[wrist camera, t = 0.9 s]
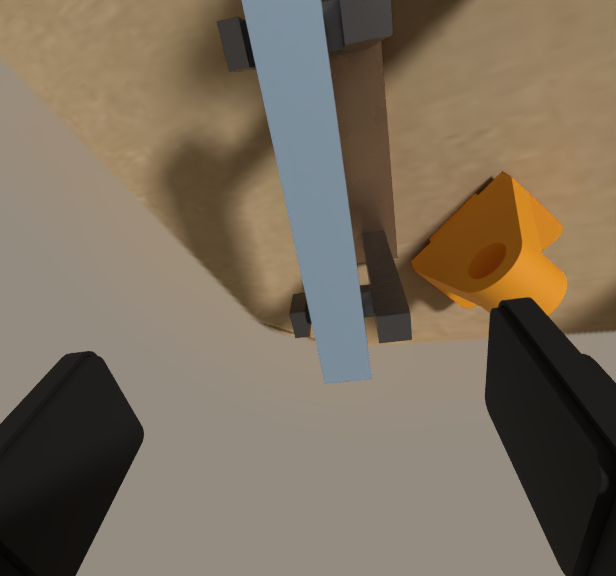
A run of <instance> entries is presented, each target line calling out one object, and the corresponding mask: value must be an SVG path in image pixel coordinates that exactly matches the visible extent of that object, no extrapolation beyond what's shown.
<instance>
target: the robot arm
mask: <svg viewBox="0 0 616 576" xmlns="http://www.w3.org/2000/svg"><path fill="white" fill-rule="evenodd" d="M485 401H486V406H487V409H488V412H489V415H490V417H491V419H492V421H493V423H494V426H495V428H496V430H497V432H498V434H499V436H500V438H501V441H502V443H503V445H504V447H505V449H506V451H507V454H508V456H509V458H510V460H511V462H512V464H513V467H514V469H515V471H516V473H517V475H518V477H519V480H520V482H521V484H522V486H523V488H524V490H525V492H526V495H527V497H528V499H529V501H530V503H531V505H532V508H533V510H534V512H535V514H536V516H537V518H538V521H539V523H540V525H541V527H542V529H543V531H544V533H545V536H546V538H547V540H548V542H549V544H550V547H551V549H552V551H553V553H554V555H555V557H556V560H557V562H558V564H559V566H560V567H561V570H562V571H563V573H564V574H565V575H566V576H616V383H615V382H614V381H613V380H612V378H611V377H610V376H609V375H608V374H607V373H606V372H605V371H604V370H603V369H602V367H601V366H600V365H599V364H598V363H597V362H596V361H595V360H594V359H593V358H591V357H590V356H588V355H585V354H581V353H580V352H579V351H578V350H577V348H576V347H575V346H574V345H573V344H572V343H571V342H570V340H568V338H567V337H566V336H565V335H564V334H563V333H562V331H561V330H560V329H559V328H558V327H557V326H556V325H555V323H554V322H553V321H552V320H551V319H550V318H549V317H548V316H547V314H546V313H545V312H544V311H543V310H542V309H541V308H540V306H539V305H538V304H537V303H536V302H535V301H534V300H533V299H532V298H530V297H525V298H516V299H508V300H502V301H500V303H499V305H498V308H492V309H491V312H490V324H489V340H488V356H487V373H486V388H485ZM143 438H144V431H143V427H142V426H141V424H140V422H139V420H138V418H137V417H136V415H135V414H134V412H133V410H132V408H131V406H130V405H129V403H128V401H127V399H126V398H125V396H124V394H123V393H122V391H121V390H120V388H119V386H118V384H117V382H116V381H115V379H114V377H113V375H112V374H111V372H110V370H109V369H108V367H107V365H106V363H105V362H104V360H103V359H102V358H101V357H100V356H97V355H96V354H95V353H94V352H92V351H86V352H77V353H70V354H66V355H65V356H64V357H62V358H61V359H60V360H59V362H57V364H56V365H55V366H54V367H53V368H52V369H51V370H50V371H49V372H48V373H47V374H46V375H45V376H44V378H43V379H42V380H41V381H40V382H39V383H38V384H37V385H36V386H35V387H34V388H33V389H32V391H30V393H29V394H28V395H27V396H26V397H25V398H24V399H23V400H22V401H21V402H20V404H19V405H18V406H17V407H16V408H15V409H14V410H13V411H12V412H11V413H10V414H9V415H8V416H7V417H6V418H5V420H4V421H3V422H2V423H1V424H0V576H76V574H77V572H78V570H79V568H80V566H81V564H82V562H83V560H84V558H85V556H86V554H87V552H88V549H89V548H90V546H91V544H92V542H93V540H94V538H95V536H96V534H97V532H98V530H99V528H100V526H101V524H102V522H103V520H104V518H105V516H106V514H107V512H108V510H109V508H110V506H111V504H112V502H113V500H114V498H115V496H116V494H117V492H118V490H119V488H120V486H121V484H122V482H123V480H124V478H125V476H126V474H127V472H128V470H129V468H130V466H131V464H132V461H133V460H134V458H135V456H136V454H137V452H138V450H139V448H140V446H141V444H142V442H143Z"/></svg>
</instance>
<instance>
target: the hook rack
mask: <svg viewBox="0 0 616 576" xmlns="http://www.w3.org/2000/svg"><path fill="white" fill-rule="evenodd" d="M322 9H323V16H324V24H325V31H326V38H327V46H328V53H329V61H330V68H331V76H332V83H333V91H334V98H335V105H336V113H337V120H338V128H339V135H340V143H341V150H342V158H343V165H344V172H345V180H346V187H347V195H348V202H349V210H350V217H351V225H352V232H353V240H354V247H355V254H356V262H357V263H364V262H366V266H367V272H368V278H369V285H361V286H360V292H361V299H362V307H363V314H364V317H372V316H375V320H376V326H377V332H378V338H379V343H386V342H395V341H404V340H412V333H411V317H410V311H409V307H408V304H407V301H406V298H405V295H404V292H403V288H402V285H401V282H400V279H399V276H398V272H397V269H396V266H395V263H394V260H393V258H398V257H397V244H396V230H395V217H394V204H393V191H392V177H391V164H390V151H389V137H388V124H387V111H386V97H385V84H384V71H383V57H382V44H381V41H383V40H384V39H386V38H388V37H389V36H391V35H393V26H392V10H391V0H328V1H324V2H322ZM217 25H218V29H219V33H220V37H221V41H222V45H223V49H224V53H225V57H226V61H227V65H228V69H229V72H241V71H246V70H250V69H255V68H256V65H255V60H254V56H253V51H252V46H251V42H250V37H249V33H248V28H247V23H246V20H243V19H241V18H240V17H234V18H230V19H226V20H222V21H218V22H217ZM290 318H291V322H292V326H293V330H294V334H295V338H301V337H310V330H311V324H312V322H311V318H310V313H309V308H308V304H307V299H306V295H305V293H299V294H293V297H292V303H291V308H290Z"/></svg>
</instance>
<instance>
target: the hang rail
mask: <svg viewBox="0 0 616 576" xmlns="http://www.w3.org/2000/svg"><path fill="white" fill-rule="evenodd" d="M242 5H243V10H244V14H245V19H246V23H247V28H248V33H249V37H250V42H251V46H252V51H253V56H254V60H255V65H256V69H257V74H258V79H259V83H260V88H261V92H262V97H263V102H264V106H265V111H266V115H267V120H268V125H269V129H270V134H271V138H272V143H273V147H274V152H275V157H276V161H277V166H278V170H279V175H280V180H281V184H282V189H283V193H284V198H285V203H286V207H287V212H288V216H289V221H290V226H291V230H292V235H293V239H294V244H295V249H296V253H297V258H298V262H299V267H300V272H301V276H302V281H303V285H304V290H305V295H306V299H307V304H308V308H309V313H310V318H311V322H312V327H313V331H314V336H315V341H316V345H317V350H318V354H319V359H320V364H321V368H322V372H323V377H324V382H325V384H326V383H337V382H348V381H358V380H369V379H372V377H371V368H370V361H369V352H368V344H367V336H366V329H365V321H364V314H363V307H362V299H361V292H360V284H359V277H358V269H357V262H356V254H355V247H354V240H353V232H352V225H351V217H350V210H349V202H348V195H347V187H346V180H345V172H344V165H343V158H342V150H341V143H340V135H339V128H338V120H337V113H336V105H335V98H334V91H333V83H332V76H331V68H330V61H329V53H328V46H327V38H326V31H325V24H324V16H323V9H322V1H321V0H242Z"/></svg>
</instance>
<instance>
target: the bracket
mask: <svg viewBox="0 0 616 576" xmlns="http://www.w3.org/2000/svg"><path fill="white" fill-rule="evenodd" d="M562 230H563V226H562V224H561V223H560V222H559V221H558V220H557V219H556V218H555V217H554V216H553V215H552V214H551V213H550V212H549V211H548V210H547V209H545V208H544V207H543V206H542V205H541V204H540V203H539V202H538V201H537V200H536V199H535V198H534V197H533V196H532V195H530V194H529V193H528V192H527V191H526V190H525V189H524V188H523V187H522V186H521V185H520V184H519V183H518V182H517V181H515V180H514V179H513V178H512V177H511V176H509V175H508V174H506V173H504V172H503V171H502V172H501V173H500V174H499V175H498V176H497V177H496V178H495V179H494V180H493V181H492V182H491V183H490V184H489V185H488V186H487V187H486V188H485V189H484V190H483V191H482V192H481V193H480V194H479V195H477V194H476V193H475V194H474V195H473V196H472V197H471V198H470V199H469V200H468V201H467V202H466V203H465V204H464V205H462V206H461V207H460V208H459V209H458V210H457V211H456V212H455V213H454V214H453V215H452V216H451V217H450V218H449V219H448V220H447V221H446V222H445V223H444V224H443V225H442V226H441V227H440V228H439V229H438V230H437V231H436V232H435V233H434V234H433V235H432V236H431V237H430V238H429V240H430V243H429V244H428V245H427V246H426V247H425V248H424V249H423V250H422V251H421V252H420V253H419V254H418V255H417V256H416V257H415V258H414V259H413V260H412V261H411V264H412V266H413V269H414V271H415V272H417V273H418V274H419V275H421V276H422V277H423V278H425V279H426V280H427V281H429V282H430V283H431V284H432V285H434V286H435V287H436V288H438V289H439V290H440V291H442V292H443V293H444V294H446V295H447V296H448V297H450V298H451V299H452V300H453V301H455V302H456V303H457V304H459V305H460V306H461V307H463V308H473V307H475V306H477V305H479V306H481V307H483V308H484V309H485V310H487V311H488V312H489V313H490V312H491V309H492V308H498V305H499V303H500V301H502V300H508V299H516V298H525V297H530V298H532V299H533V300H534V301H535V302H536V303H537V304H538V305H539V306H540V308H541V309H542V310H543V311H544V312H545V313H546V314H547V316H548V315H550V314H551V313H552V312H553V311H554V310H555V309H556V308H557V307H558V305H559V304H560V302H561V301H562V299H563V297H564V295H565V292H566V288H567V280H566V277H565V275H564V273H563V272H562V271H561V270H560V269H559V268H558V267H556V266H555V265H554V264H553V263H552V262H551V261H550V260H549V259H547V258H546V257H545V256H544V255H543V254H542V251H543V250H544V249H545V248H546V247H548V246H549V245H550V244H551V243H552V242H554V241H555V240H556V239H557V238H558V237H559V236H560V235H561V233H562Z"/></svg>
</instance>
